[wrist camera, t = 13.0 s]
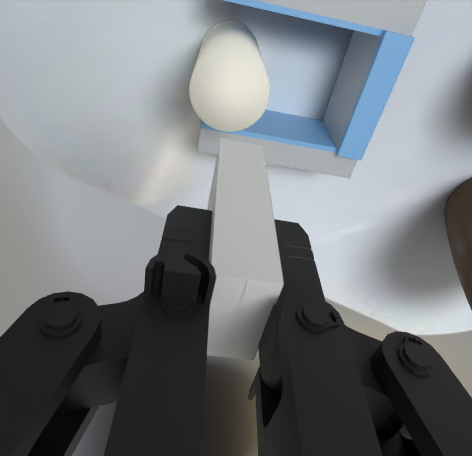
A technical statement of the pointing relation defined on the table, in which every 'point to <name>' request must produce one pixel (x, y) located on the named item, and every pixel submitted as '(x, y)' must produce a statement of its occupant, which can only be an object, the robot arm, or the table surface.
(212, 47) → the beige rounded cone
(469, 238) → the plant pot
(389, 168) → the table surface
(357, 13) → the folding screen
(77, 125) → the table surface
